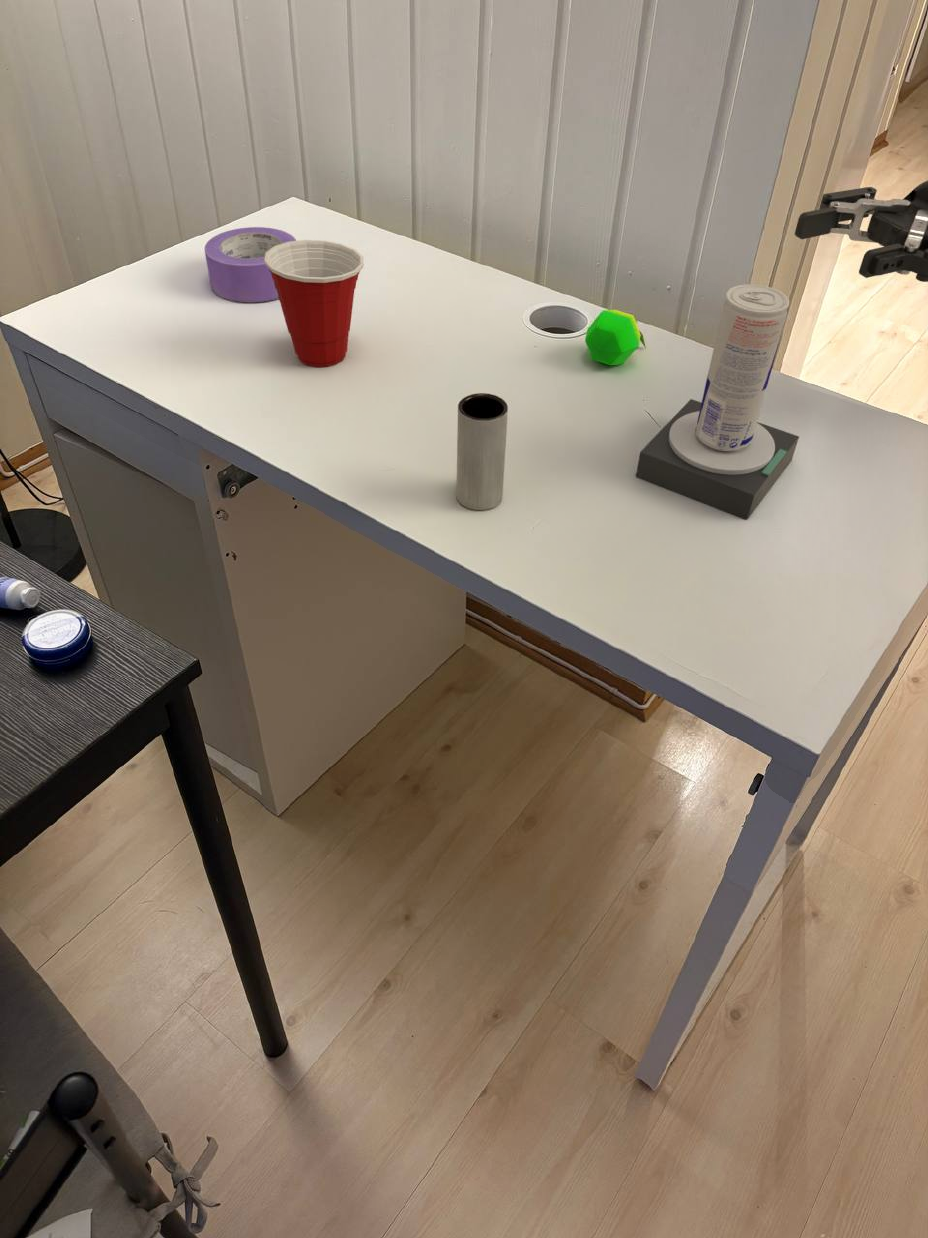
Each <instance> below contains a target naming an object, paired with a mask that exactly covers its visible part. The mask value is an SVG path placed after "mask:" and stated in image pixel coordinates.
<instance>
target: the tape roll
mask: <svg viewBox="0 0 928 1238" xmlns="http://www.w3.org/2000/svg"><path fill="white" fill-rule="evenodd" d="M291 241H297V240H296V237H294V236H293V235H292V234H290V233H289V232H287V231H284V230H282V229H278V228H274V227H273V228H272V227H262V226H252V227H251V226H249V227H241V228H234V229H230V230H227V231H223V232H220V233H219V234H216V235H214V236H212V237H211V238H210V239H209V240H208V241H207V242H206V243H205V245H204V257H205V261H206V266H207V267H206V268H207V272H208V279H209V284H210V288H211V290H212V292H213V293H214V294H215V295H216V296H218V297H220V298H222V299H225V300H228V301H233V302H238V303H263V302H269V301H274V300H277V299H278V300H279V296H278V293H277V289H276V288H275V285H274V280H273V279H272V275H271V272H270V270H269V268H268V267H267V266H266V264H265V261H264V260H265V253H266V252H267V251H269V250H270V249H271V248H272V247H274V246H277V245H280V244H283V243H286V242H291Z"/></svg>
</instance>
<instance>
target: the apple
mask: <svg viewBox="0 0 928 1238" xmlns="http://www.w3.org/2000/svg"><path fill="white" fill-rule="evenodd" d="M638 323H639V322H638V320H637V318H636V315H634V314H630V313H627V312H624V311H621V310H617V309H603V310H602V311H600V313H599V314H598V315H597V316H596V318H595V319H594V321H592V323H591V324H590V325H589V326H588V328H587V329H586V333H585V339H584V342H585V344H586V347H587V350H588V352H589V355H590V358H591V360H594V361H595V362H599V363H601V364H602V363H603V364H605V365H607V366H617V365H618V366H619V365H624V363H625V362H626V361H627V360H628V359H629V358H630V357H631V356H632V354H633V353H634V352H635V351H636V350H637V349H638V348H639V347H640V342H641V344H642V345H643V347H644V348H645V349H647V347H646V343H645V338H644V335H643V333H642V331H641V330H640V329H639V327H638Z"/></svg>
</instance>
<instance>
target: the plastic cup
mask: <svg viewBox="0 0 928 1238" xmlns="http://www.w3.org/2000/svg"><path fill="white" fill-rule="evenodd" d="M264 261H265V264H266V266H267V267H268V268H269V270H270V272H271V275H272V279H273V280H274V285H275V288H276V289H277V293H278V296H279V298H278V300H279V303H280V306H281V310H282V315H283V317H284V321H285V324H286V327H287V331H288V334H289V336H290V338H291V343H292V346H293V350H294V352H295V355H296V357H297V359H298V360H299V361H300V363H302V364H304V365H306V366H308V367H309V366H310V367H315V368H326V367H327V368H328V367H331V366H335V365H337V364H339V363H341V362H342V361H344V359H345V358H346V355H347V352H348V345H349V335H350V330H351V325H352V324H351V323H352V315H353V305H354V299H355V298H354V297H355V291H356V287H357V281H358V279H359V275H360V272H361V271H362V270H363V269H364V266H365V261H364V256H363V255H362V254H361V253H360V252H359V251H358V250H357V249H354V248H352V247H350V246H348V245H346V244H343V243H339V242H338V243H337V242H333V241H328V240H321V239H320V240H319V239H301V240H296V241H291V242H286V243H283V244H280V245H277V246H274V247H272V248H271V249H270V250H269V251H267V252H266V253H265V260H264Z"/></svg>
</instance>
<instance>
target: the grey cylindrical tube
mask: <svg viewBox="0 0 928 1238" xmlns="http://www.w3.org/2000/svg"><path fill="white" fill-rule="evenodd" d="M508 411H509V407H508V403H507V402H506V401H505V400H504V399H503V398H502V397H500V396H497V395H496V394H492V393H487V392H485V393H484V392H480V393H479V392H478V393H472V394H468V395H466V396H464V397H463V398H461V399H460V400H459V402H458V405H457V430H456V431H457V434H456V435H457V436H456V437H457V438H456V487H455V488H456V489H455V491H456V492H455V493H456V494H455V495H456V499H457V502H458V503H459V504H461V506H462V507H464V508H467V509H469V510H472V511H473V510H474V511H487V510H490V509H494V508H495V507H498V505H500V503H501V502H502V499H503V496H504V495H503V494H504V479H505V462H506V449H507V446H506V445H507V430H508V429H507V428H508V416H509V415H508Z"/></svg>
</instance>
